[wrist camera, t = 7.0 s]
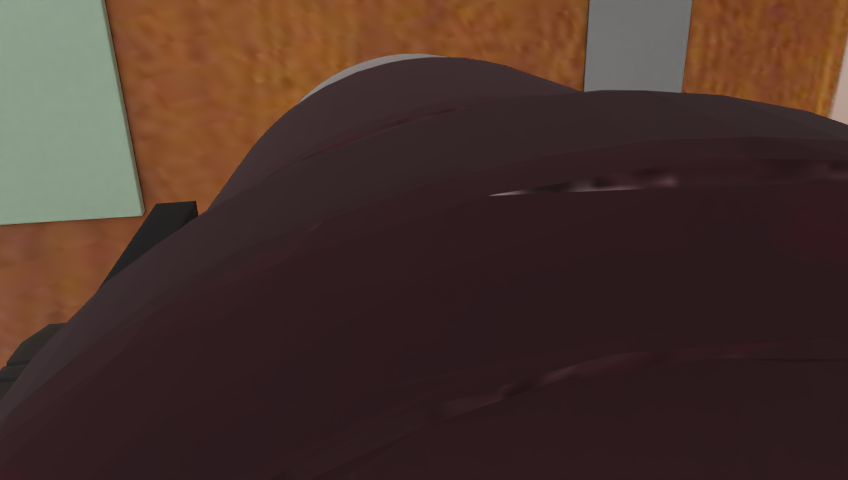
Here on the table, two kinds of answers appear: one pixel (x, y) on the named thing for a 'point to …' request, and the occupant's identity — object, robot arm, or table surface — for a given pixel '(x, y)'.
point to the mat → (62, 116)
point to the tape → (636, 45)
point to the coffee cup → (473, 297)
